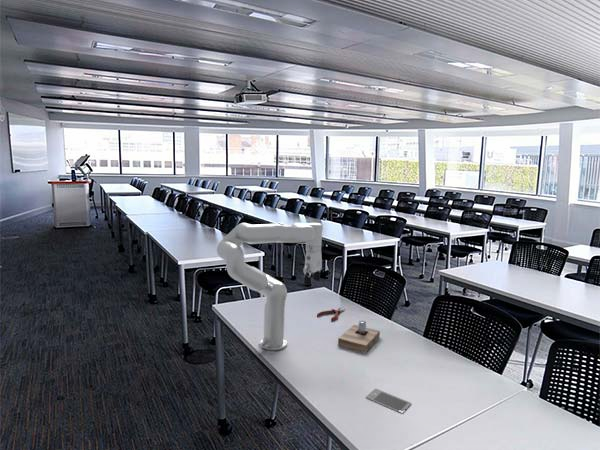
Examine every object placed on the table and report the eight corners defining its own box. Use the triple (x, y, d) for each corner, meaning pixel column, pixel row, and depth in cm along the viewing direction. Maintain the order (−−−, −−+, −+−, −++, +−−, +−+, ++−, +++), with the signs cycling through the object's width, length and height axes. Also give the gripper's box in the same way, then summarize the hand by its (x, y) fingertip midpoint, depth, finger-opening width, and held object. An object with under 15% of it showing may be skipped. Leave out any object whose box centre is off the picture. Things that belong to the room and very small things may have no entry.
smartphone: (411, 404, 150) (412, 403, 150) (402, 415, 144) (402, 413, 143) (375, 389, 159) (375, 388, 159) (365, 398, 153) (365, 397, 153)
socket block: (365, 352, 189) (365, 345, 188) (338, 345, 196) (338, 338, 195) (379, 337, 206) (379, 330, 206) (353, 330, 213) (354, 324, 212)
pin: (363, 341, 201) (364, 324, 200) (356, 339, 203) (357, 322, 201) (366, 338, 204) (367, 321, 203) (359, 336, 206) (360, 320, 205)
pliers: (351, 312, 240) (351, 308, 240) (332, 322, 224) (333, 318, 224) (334, 308, 247) (335, 304, 246) (315, 317, 231) (316, 313, 231)
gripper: (312, 252, 188) (310, 288, 191) (328, 246, 203) (326, 279, 206) (298, 250, 192) (296, 285, 194) (314, 244, 206) (313, 276, 209)
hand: (312, 282), depth 200 cm, fingers open, 9 cm apart
